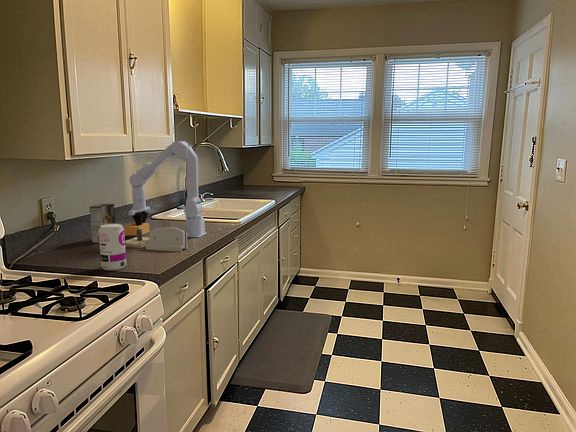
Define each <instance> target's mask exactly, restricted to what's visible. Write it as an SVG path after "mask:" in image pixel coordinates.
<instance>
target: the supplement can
mask: <svg viewBox="0 0 576 432" xmlns="http://www.w3.org/2000/svg"><path fill="white" fill-rule="evenodd" d="M125 237H126V235H125V234H124V225H123V224H121V223H116V224H105V225H101V226H100V229H99V242H100V243H99V252H100V264H101V265H100V266H101V268H102V269H103V270H105V271H117V270H121V269H124V268H125V266H127V255H126V254H127V253H126V247H125V241H126V240H125V239H126V238H125Z"/></svg>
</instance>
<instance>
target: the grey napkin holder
mask: <svg viewBox="0 0 576 432" xmlns="http://www.w3.org/2000/svg"><path fill="white" fill-rule="evenodd" d="M148 237H149V241H148V244H147V245H146V246H145V250H147V251H163V252H164V251H165V252H166V251H167V252H181V253H182V252H183V250H187V249H188V237H187V233H186V230H183V229H180V228H177V227H172V226H162V227H157V228H153V229H152V230H150V232H149V236H148Z"/></svg>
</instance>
